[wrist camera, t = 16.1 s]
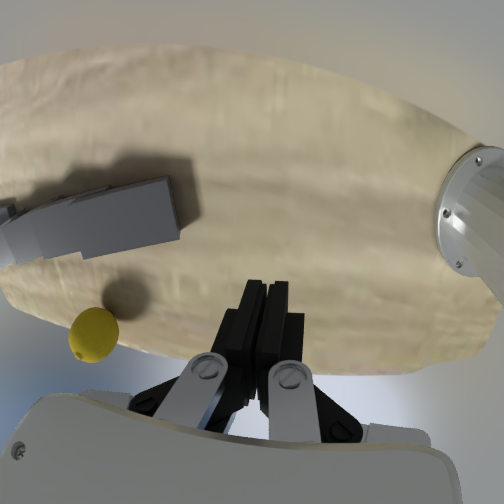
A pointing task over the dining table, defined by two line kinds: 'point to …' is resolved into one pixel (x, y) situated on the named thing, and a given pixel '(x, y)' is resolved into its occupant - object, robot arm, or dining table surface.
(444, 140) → the dining table surface
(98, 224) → the domino
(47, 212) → the domino
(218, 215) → the dining table surface
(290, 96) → the dining table surface
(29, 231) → the domino
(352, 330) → the dining table surface
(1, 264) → the domino
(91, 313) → the lemon
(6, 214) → the domino
